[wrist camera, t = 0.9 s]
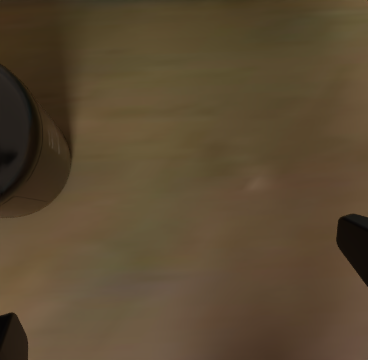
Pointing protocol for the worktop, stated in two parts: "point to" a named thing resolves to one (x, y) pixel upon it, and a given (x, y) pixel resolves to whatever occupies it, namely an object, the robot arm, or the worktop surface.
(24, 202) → the supplement bottle
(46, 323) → the worktop surface
